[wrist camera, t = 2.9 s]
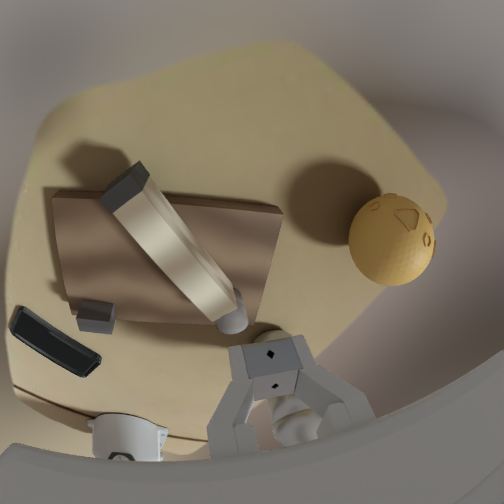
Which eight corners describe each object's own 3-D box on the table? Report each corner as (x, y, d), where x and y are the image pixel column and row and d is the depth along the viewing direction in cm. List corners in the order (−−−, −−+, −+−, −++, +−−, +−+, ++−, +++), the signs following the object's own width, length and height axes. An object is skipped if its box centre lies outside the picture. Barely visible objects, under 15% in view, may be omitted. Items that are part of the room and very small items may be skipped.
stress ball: (346, 257, 36) (416, 279, 32) (330, 283, 28) (421, 312, 24) (363, 182, 33) (438, 204, 29) (354, 184, 24) (454, 215, 20)
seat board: (250, 314, 37) (258, 343, 33) (75, 304, 31) (65, 332, 27) (278, 206, 30) (293, 228, 25) (59, 190, 23) (38, 210, 19)
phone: (83, 379, 38) (8, 332, 30) (84, 373, 39) (11, 327, 31) (103, 360, 36) (19, 306, 28) (104, 355, 37) (22, 301, 29)
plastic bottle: (245, 329, 38) (283, 468, 22) (293, 319, 39) (347, 448, 22) (249, 356, 42) (282, 478, 25) (292, 347, 42) (337, 462, 26)
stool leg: (246, 299, 33) (253, 325, 29) (223, 312, 33) (227, 339, 29) (139, 160, 22) (129, 173, 19) (112, 181, 23) (98, 198, 19)
